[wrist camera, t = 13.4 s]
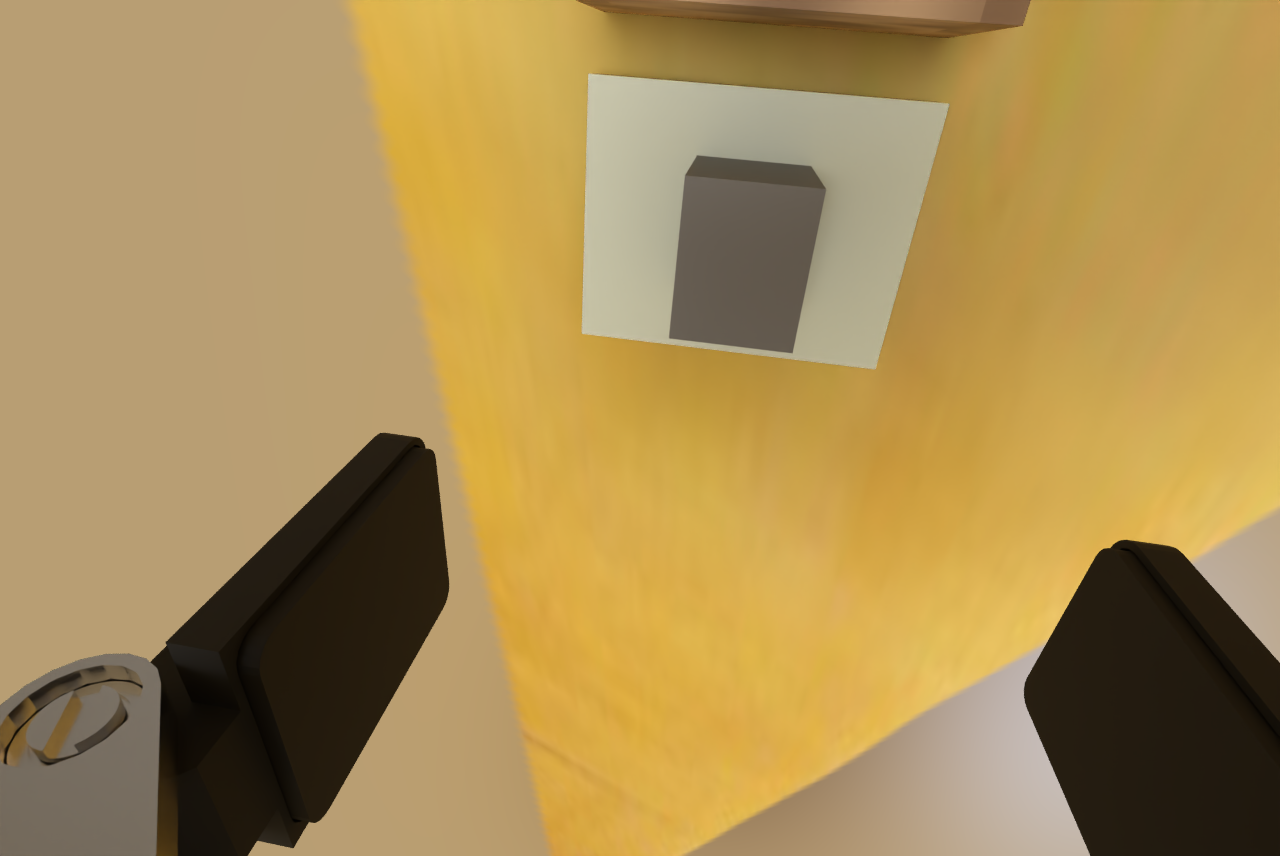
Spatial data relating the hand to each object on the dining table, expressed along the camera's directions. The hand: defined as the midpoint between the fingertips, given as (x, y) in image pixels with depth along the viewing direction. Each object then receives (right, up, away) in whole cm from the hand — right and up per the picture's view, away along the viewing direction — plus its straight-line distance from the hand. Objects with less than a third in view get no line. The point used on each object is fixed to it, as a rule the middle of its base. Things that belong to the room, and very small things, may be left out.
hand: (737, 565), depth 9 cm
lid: (+3, +12, +21) cm, 24 cm away
